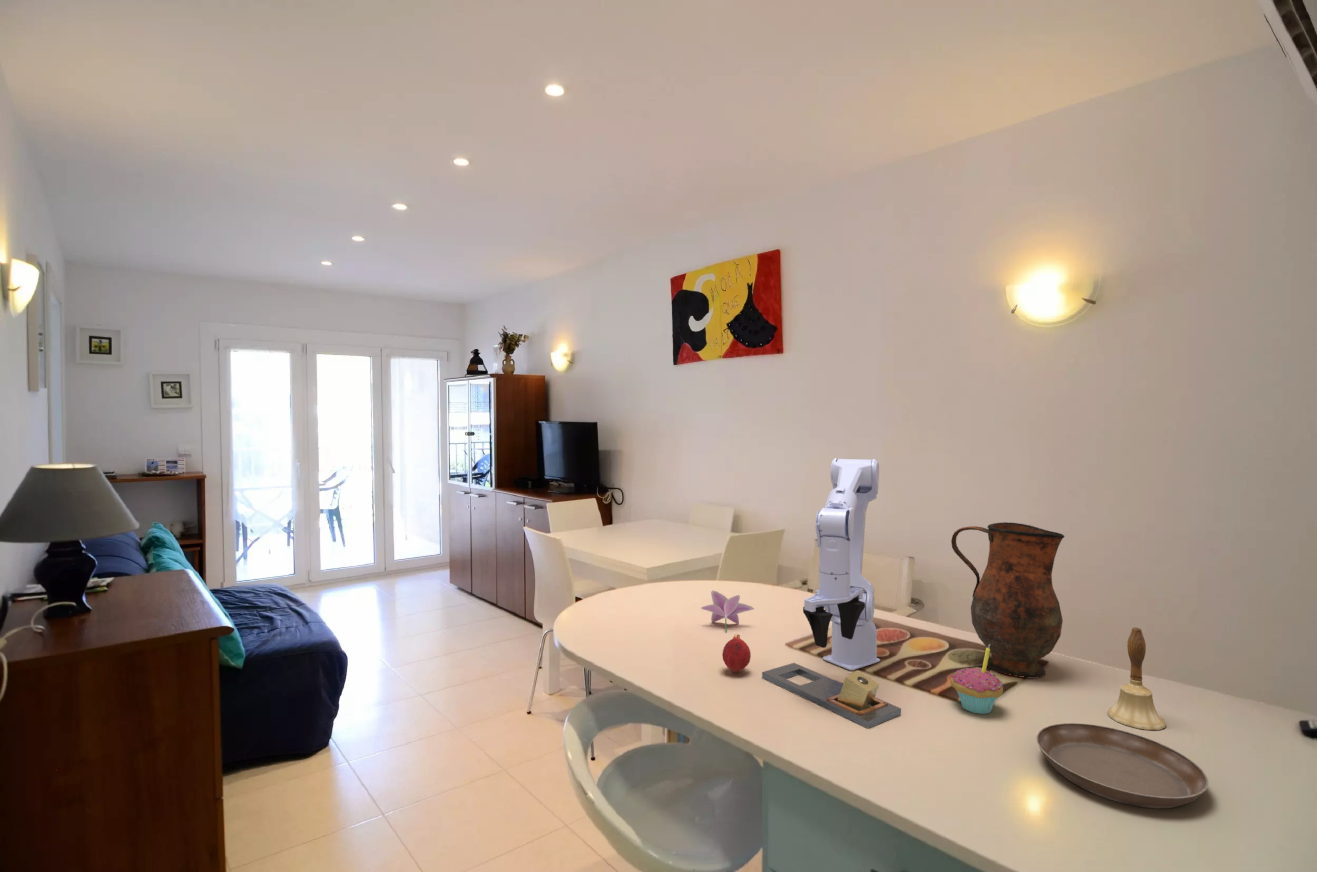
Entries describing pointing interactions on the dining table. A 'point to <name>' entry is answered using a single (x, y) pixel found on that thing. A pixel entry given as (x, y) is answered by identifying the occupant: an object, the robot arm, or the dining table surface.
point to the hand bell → (1136, 692)
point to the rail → (829, 695)
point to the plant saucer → (1122, 765)
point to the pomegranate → (736, 654)
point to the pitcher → (1016, 597)
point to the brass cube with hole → (858, 691)
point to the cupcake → (977, 687)
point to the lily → (726, 608)
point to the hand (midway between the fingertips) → (834, 641)
